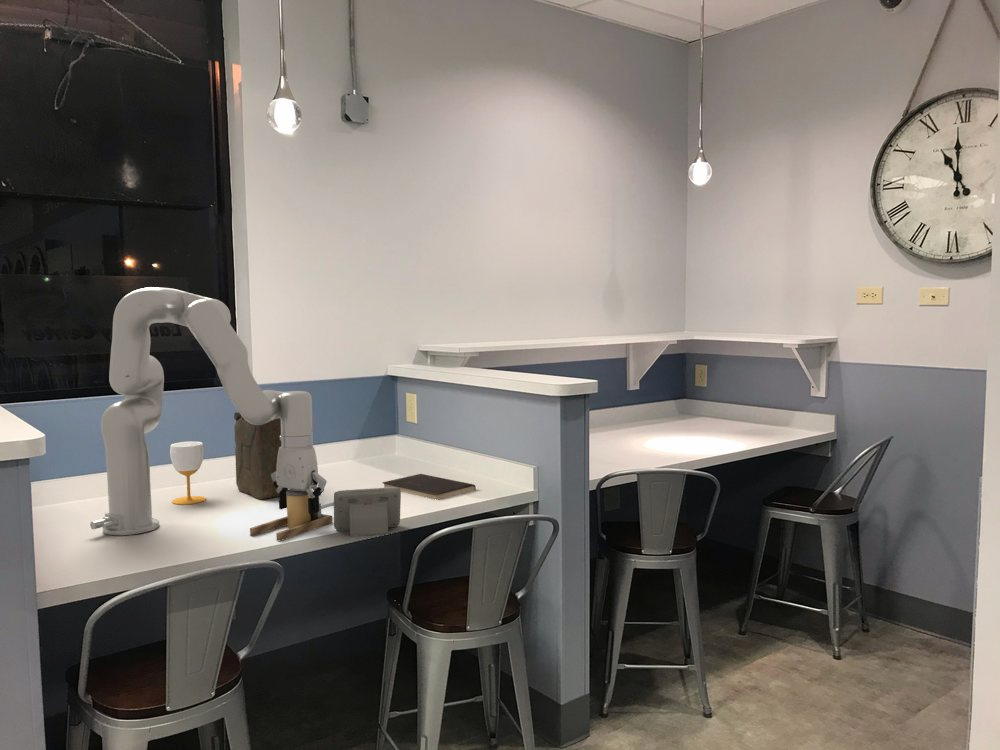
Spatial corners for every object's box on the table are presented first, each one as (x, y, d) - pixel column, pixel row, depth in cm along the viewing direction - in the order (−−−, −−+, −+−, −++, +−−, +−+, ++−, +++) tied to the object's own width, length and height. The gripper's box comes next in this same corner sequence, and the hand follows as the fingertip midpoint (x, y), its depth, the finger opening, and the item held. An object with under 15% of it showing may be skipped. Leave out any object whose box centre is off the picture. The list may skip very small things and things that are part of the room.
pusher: (318, 524, 202) (317, 504, 201) (297, 520, 205) (296, 501, 205) (345, 514, 210) (345, 495, 210) (325, 511, 214) (324, 492, 214)
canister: (288, 496, 232) (286, 409, 230) (260, 501, 226) (257, 412, 224) (260, 485, 246) (257, 403, 244) (233, 490, 241) (230, 406, 238)
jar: (299, 531, 197) (298, 494, 196) (282, 527, 200) (280, 491, 199) (316, 525, 202) (315, 489, 201) (298, 522, 205) (297, 487, 204)
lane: (279, 541, 189) (279, 533, 189) (250, 535, 194) (249, 528, 193) (332, 522, 204) (332, 515, 204) (303, 517, 209) (303, 510, 209)
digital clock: (402, 525, 202) (401, 483, 201) (399, 535, 193) (399, 491, 192) (336, 526, 201) (335, 484, 200) (330, 537, 192) (329, 492, 191)
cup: (191, 505, 222) (189, 447, 221) (164, 503, 225) (161, 446, 224) (213, 498, 231) (211, 442, 229) (186, 495, 234) (184, 440, 232)
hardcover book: (436, 502, 227) (436, 494, 226) (382, 489, 242) (382, 482, 242) (475, 491, 239) (475, 484, 238) (422, 480, 254) (422, 473, 254)
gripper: (260, 441, 200) (262, 509, 202) (312, 447, 192) (314, 518, 193) (282, 436, 207) (284, 503, 208) (334, 442, 198) (336, 511, 200)
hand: (299, 510), depth 201 cm, fingers open, 9 cm apart
